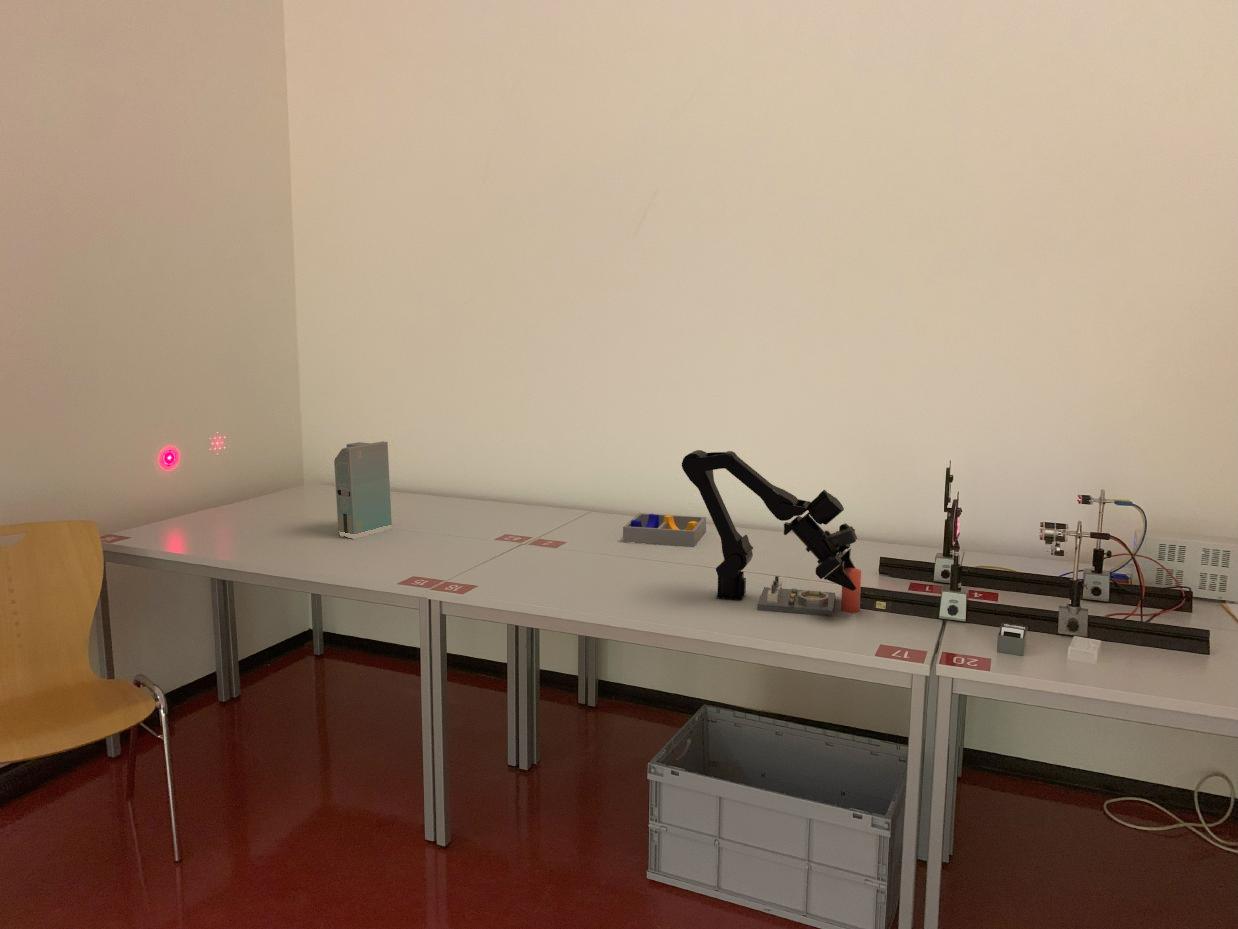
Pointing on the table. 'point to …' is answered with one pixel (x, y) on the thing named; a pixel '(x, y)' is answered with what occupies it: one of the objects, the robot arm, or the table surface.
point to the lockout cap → (851, 592)
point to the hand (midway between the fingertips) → (857, 584)
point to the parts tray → (665, 531)
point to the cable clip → (652, 522)
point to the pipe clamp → (671, 525)
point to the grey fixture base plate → (796, 600)
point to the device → (363, 487)
